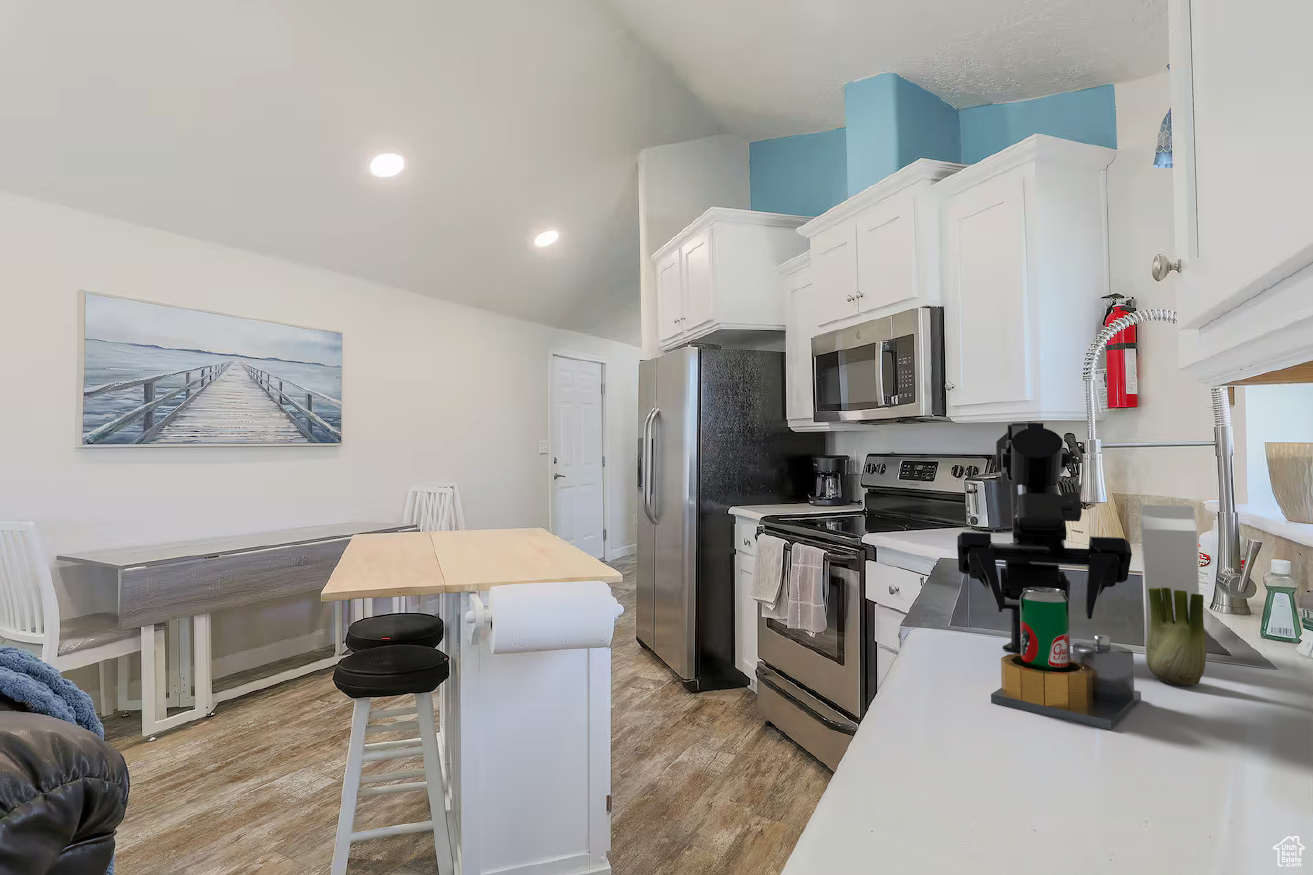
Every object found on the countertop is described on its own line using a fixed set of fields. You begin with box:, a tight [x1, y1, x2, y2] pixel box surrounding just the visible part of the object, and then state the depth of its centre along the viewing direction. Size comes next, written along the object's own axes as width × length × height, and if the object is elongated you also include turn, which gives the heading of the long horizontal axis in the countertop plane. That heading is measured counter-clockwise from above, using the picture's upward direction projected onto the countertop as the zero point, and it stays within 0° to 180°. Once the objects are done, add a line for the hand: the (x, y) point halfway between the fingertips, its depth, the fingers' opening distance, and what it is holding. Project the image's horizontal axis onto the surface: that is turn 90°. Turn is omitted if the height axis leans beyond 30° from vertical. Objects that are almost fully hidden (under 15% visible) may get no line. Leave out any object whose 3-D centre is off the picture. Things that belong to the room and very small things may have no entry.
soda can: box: [1019, 587, 1071, 673], centre depth 82 cm, size 5×5×12 cm
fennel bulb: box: [1146, 587, 1207, 686], centre depth 90 cm, size 6×5×12 cm
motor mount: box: [990, 634, 1142, 731], centre depth 82 cm, size 14×12×8 cm
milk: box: [1140, 504, 1200, 666], centre depth 98 cm, size 6×6×22 cm
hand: (1044, 613), depth 82 cm, fingers open, 9 cm apart
